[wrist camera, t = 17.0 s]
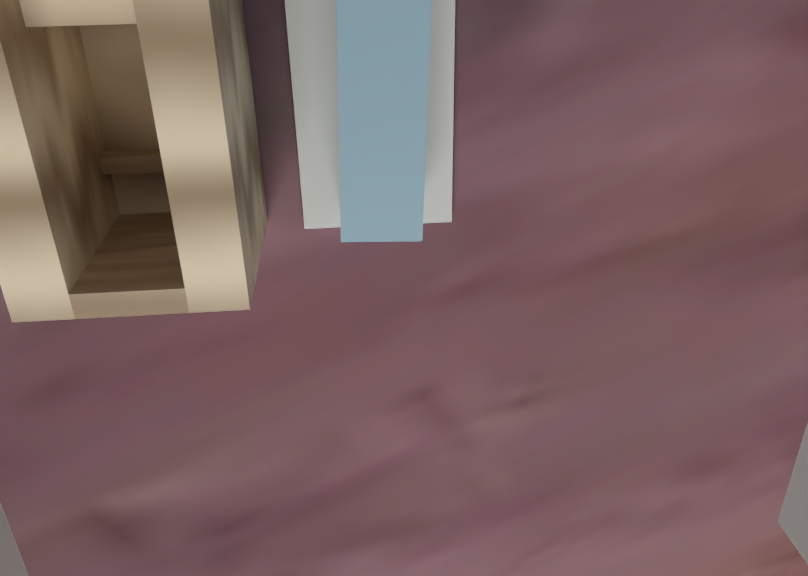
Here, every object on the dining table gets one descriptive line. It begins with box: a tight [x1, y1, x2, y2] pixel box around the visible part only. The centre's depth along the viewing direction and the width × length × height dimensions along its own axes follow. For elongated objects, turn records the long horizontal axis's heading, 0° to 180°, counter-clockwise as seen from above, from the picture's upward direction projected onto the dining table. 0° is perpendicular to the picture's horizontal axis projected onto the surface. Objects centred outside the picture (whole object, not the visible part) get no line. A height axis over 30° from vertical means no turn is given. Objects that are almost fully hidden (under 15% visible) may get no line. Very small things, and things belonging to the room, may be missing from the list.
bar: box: [336, 0, 432, 242], centre depth 34 cm, size 17×4×4 cm, turn 179°
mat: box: [285, 0, 455, 229], centre depth 37 cm, size 8×15×1 cm, turn 1°
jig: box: [0, 0, 268, 322], centre depth 31 cm, size 23×10×10 cm, turn 1°
